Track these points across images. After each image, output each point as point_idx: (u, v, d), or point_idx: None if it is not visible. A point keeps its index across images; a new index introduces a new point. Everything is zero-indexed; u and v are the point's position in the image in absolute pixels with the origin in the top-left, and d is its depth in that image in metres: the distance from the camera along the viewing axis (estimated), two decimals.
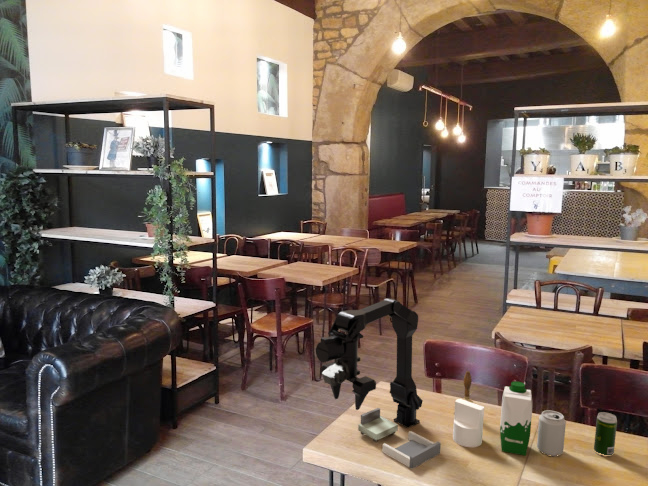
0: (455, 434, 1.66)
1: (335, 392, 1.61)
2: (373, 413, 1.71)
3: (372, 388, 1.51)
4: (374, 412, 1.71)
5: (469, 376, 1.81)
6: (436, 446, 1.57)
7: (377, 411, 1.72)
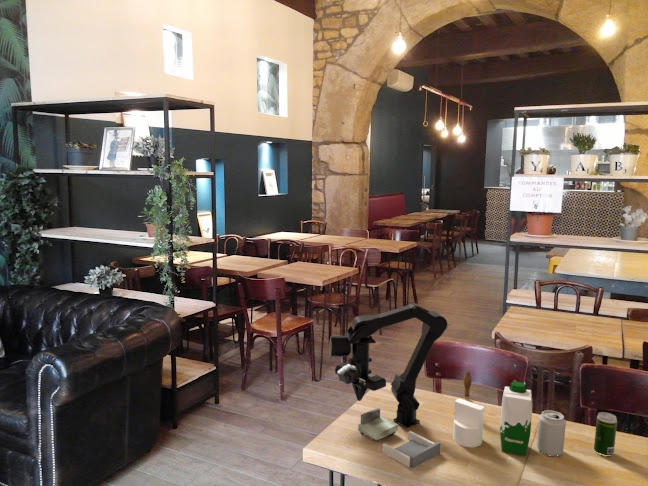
0: (455, 434, 1.66)
1: None
2: (373, 413, 1.71)
3: (383, 386, 1.67)
4: (374, 412, 1.71)
5: (469, 376, 1.81)
6: (436, 446, 1.57)
7: (377, 411, 1.72)
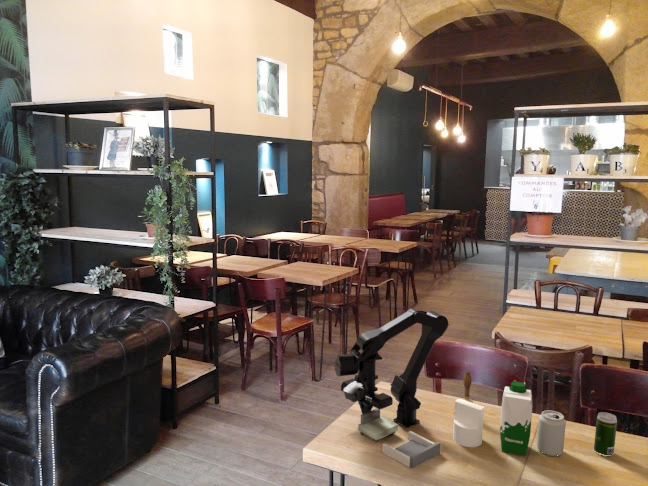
0: (455, 434, 1.66)
1: None
2: (373, 413, 1.71)
3: (389, 404, 1.66)
4: (374, 412, 1.71)
5: (469, 376, 1.81)
6: (436, 446, 1.57)
7: (377, 411, 1.72)
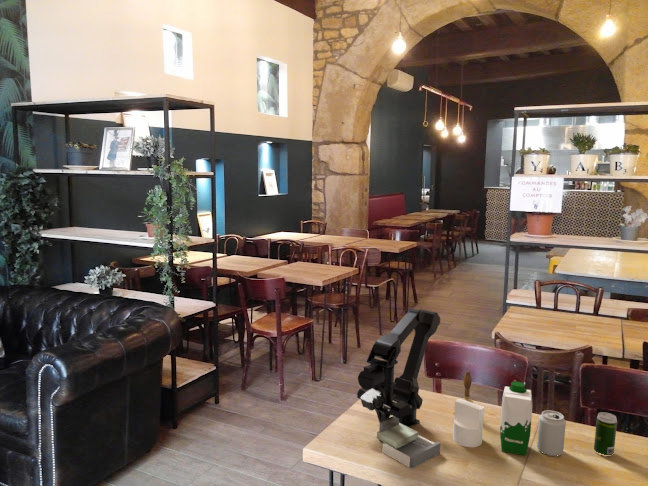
0: (455, 434, 1.66)
1: None
2: (392, 420, 1.65)
3: (408, 413, 1.60)
4: (393, 419, 1.65)
5: (469, 376, 1.81)
6: (436, 446, 1.57)
7: (396, 418, 1.66)
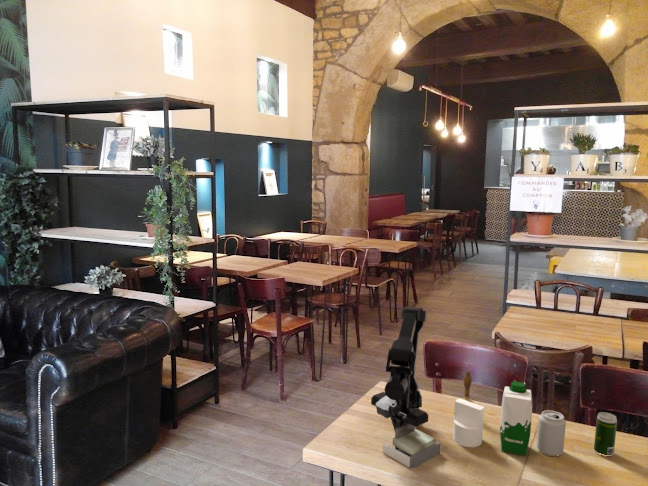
0: (455, 434, 1.66)
1: None
2: (408, 426, 1.60)
3: (425, 421, 1.55)
4: (409, 425, 1.60)
5: (469, 376, 1.81)
6: (436, 446, 1.57)
7: None
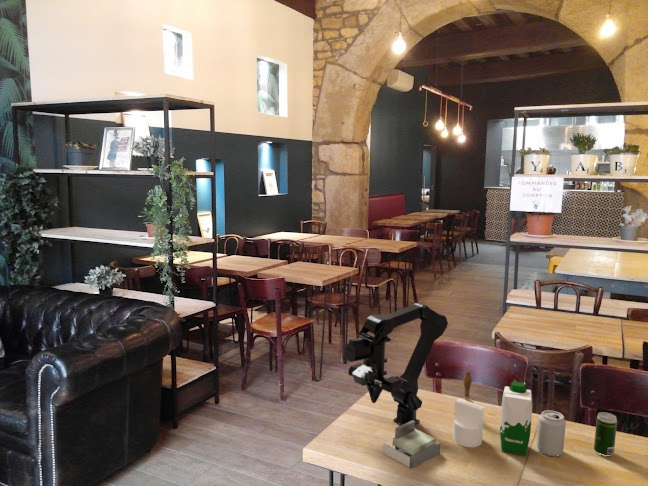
0: (455, 434, 1.66)
1: (372, 396, 1.69)
2: (408, 426, 1.60)
3: (399, 387, 1.62)
4: (409, 425, 1.60)
5: (469, 376, 1.81)
6: (436, 446, 1.57)
7: (412, 424, 1.61)
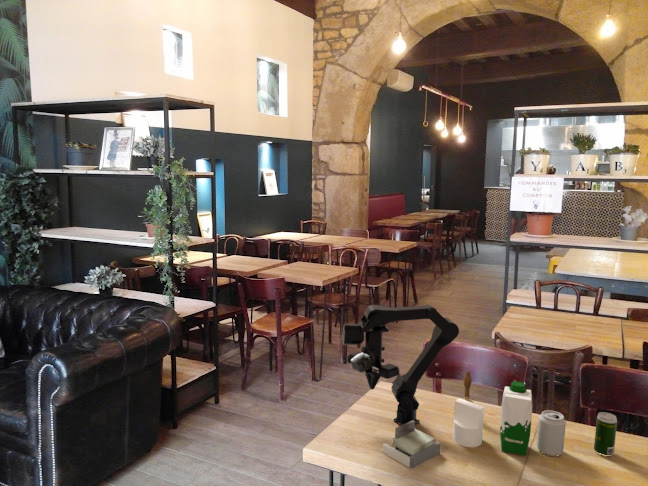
0: (455, 434, 1.66)
1: (370, 382, 1.75)
2: (408, 426, 1.60)
3: (396, 374, 1.68)
4: (409, 425, 1.60)
5: (469, 376, 1.81)
6: (436, 446, 1.57)
7: (412, 424, 1.61)
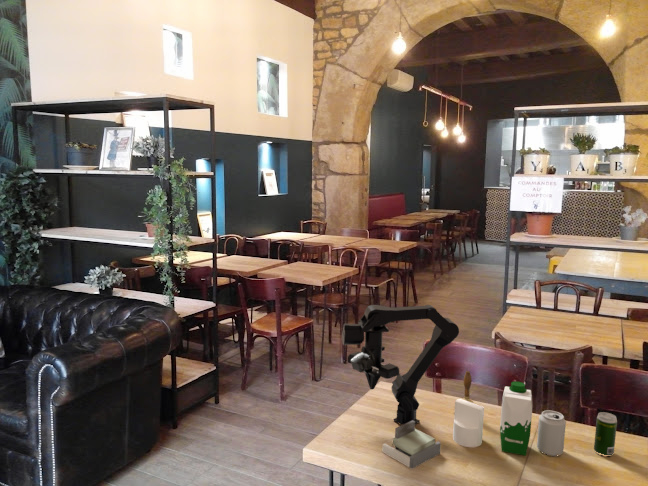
0: (455, 434, 1.66)
1: (370, 382, 1.75)
2: (408, 426, 1.60)
3: (396, 374, 1.68)
4: (409, 425, 1.60)
5: (469, 376, 1.81)
6: (436, 446, 1.57)
7: (412, 424, 1.61)
